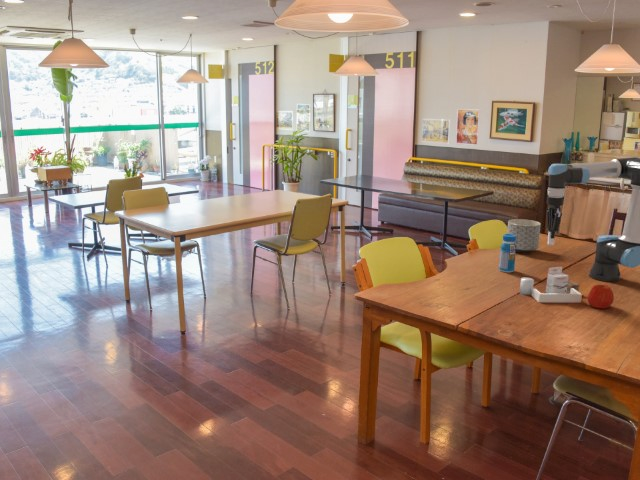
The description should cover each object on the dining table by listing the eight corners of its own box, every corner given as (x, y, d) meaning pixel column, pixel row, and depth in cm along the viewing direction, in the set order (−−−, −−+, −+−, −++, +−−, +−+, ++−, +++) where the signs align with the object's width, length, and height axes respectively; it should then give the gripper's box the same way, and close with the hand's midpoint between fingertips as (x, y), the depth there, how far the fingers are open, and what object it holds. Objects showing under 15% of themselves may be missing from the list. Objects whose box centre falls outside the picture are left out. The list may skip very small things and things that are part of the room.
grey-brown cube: (571, 291, 301) (572, 281, 300) (578, 294, 296) (579, 284, 295) (562, 292, 299) (563, 282, 298) (569, 295, 295) (570, 285, 293)
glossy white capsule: (529, 291, 300) (531, 277, 298) (534, 295, 294) (535, 281, 292) (517, 290, 300) (519, 277, 298) (522, 294, 294) (523, 281, 292)
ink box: (552, 300, 286) (555, 270, 283) (544, 297, 291) (548, 267, 287) (566, 298, 290) (569, 269, 286) (558, 295, 294) (562, 266, 291)
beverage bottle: (497, 271, 332) (500, 236, 327) (499, 267, 339) (502, 232, 334) (513, 273, 329) (517, 237, 324) (515, 269, 336) (518, 234, 331)
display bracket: (572, 296, 293) (573, 288, 292) (580, 302, 284) (581, 294, 283) (531, 295, 293) (532, 287, 292) (538, 302, 284) (539, 294, 283)
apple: (610, 312, 272) (613, 289, 270) (584, 307, 278) (587, 285, 275) (613, 305, 281) (616, 283, 279) (588, 301, 287) (591, 279, 284)
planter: (500, 247, 385) (503, 219, 380) (529, 247, 387) (532, 219, 382) (513, 255, 366) (516, 225, 362) (543, 254, 368) (546, 225, 364)
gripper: (542, 194, 296) (537, 241, 302) (553, 198, 283) (548, 247, 289) (557, 194, 296) (552, 241, 302) (569, 198, 284) (563, 247, 289)
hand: (550, 244), depth 295 cm, fingers closed
